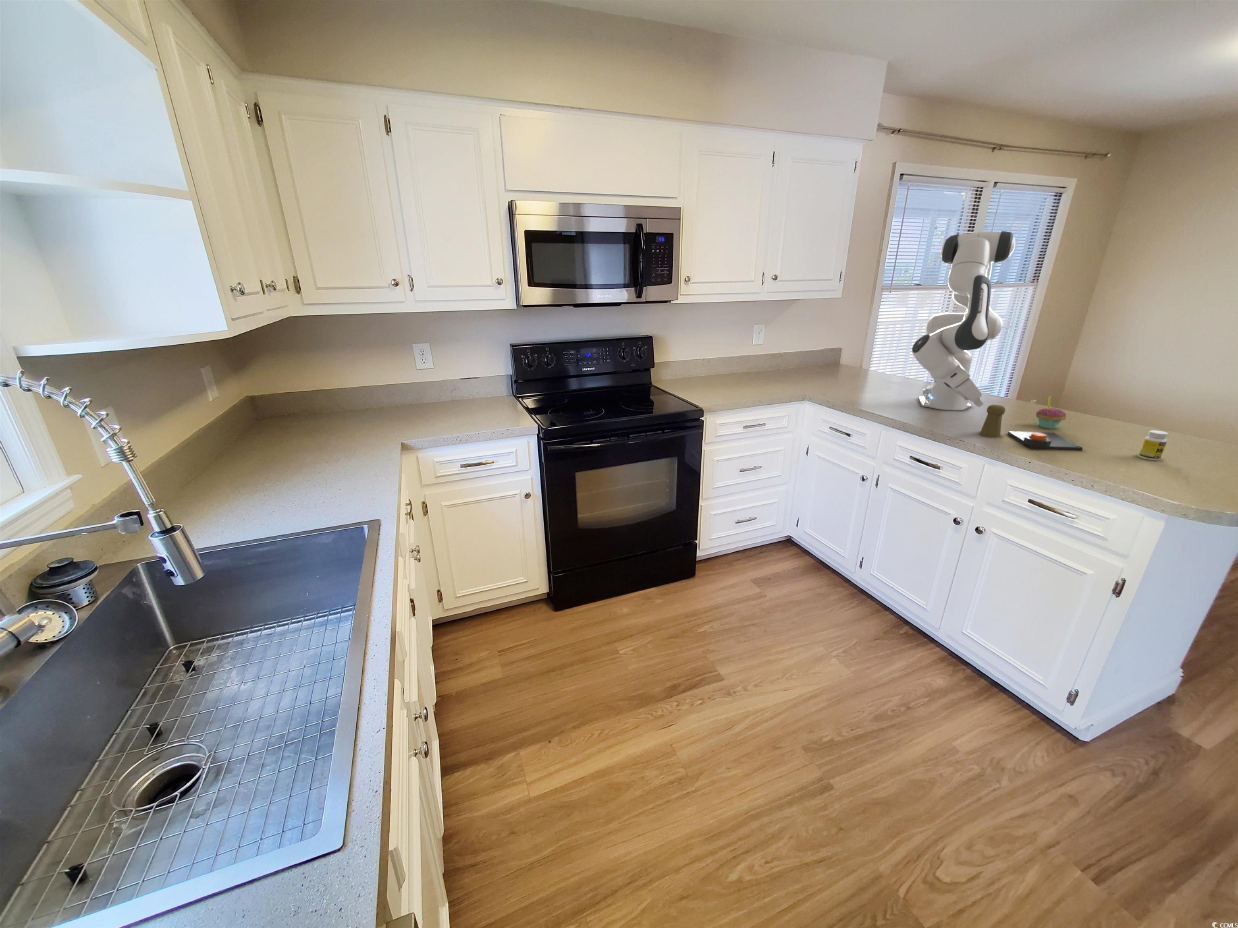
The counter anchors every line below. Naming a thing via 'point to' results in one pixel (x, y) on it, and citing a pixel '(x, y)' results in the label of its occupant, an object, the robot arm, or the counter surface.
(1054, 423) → the cupcake
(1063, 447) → the scale
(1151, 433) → the supplement bottle
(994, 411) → the cork
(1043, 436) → the tare button
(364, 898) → the counter surface
